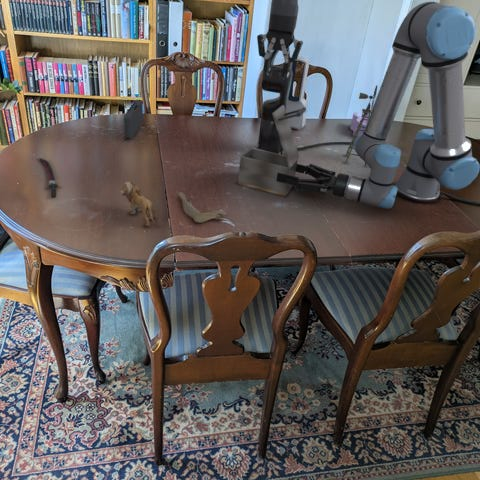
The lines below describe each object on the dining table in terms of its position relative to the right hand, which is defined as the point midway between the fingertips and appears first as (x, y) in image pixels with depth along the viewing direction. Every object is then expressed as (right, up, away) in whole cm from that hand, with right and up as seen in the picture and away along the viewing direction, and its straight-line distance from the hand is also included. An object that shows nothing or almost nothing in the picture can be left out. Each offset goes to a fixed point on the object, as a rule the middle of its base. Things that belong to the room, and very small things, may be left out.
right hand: (282, 170), depth 157 cm
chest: (-5, -4, +5) cm, 8 cm away
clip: (+43, +25, +58) cm, 77 cm away
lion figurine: (-44, -17, -21) cm, 51 cm away
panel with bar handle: (0, +10, -6) cm, 12 cm away
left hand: (-3, +28, -15) cm, 32 cm away
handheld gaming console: (-58, +22, +36) cm, 72 cm away
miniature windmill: (+32, +8, +30) cm, 45 cm away
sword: (-77, -3, -6) cm, 77 cm away
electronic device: (+9, +29, +59) cm, 66 cm away
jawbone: (-26, -14, -14) cm, 33 cm away
